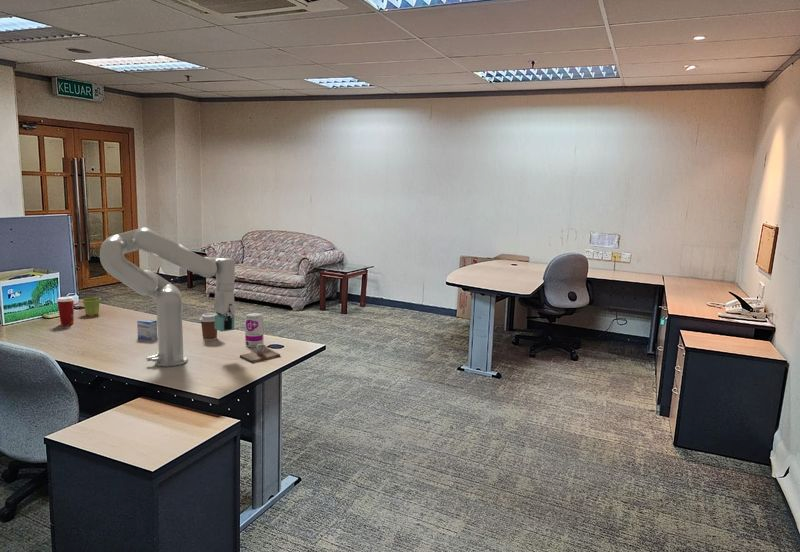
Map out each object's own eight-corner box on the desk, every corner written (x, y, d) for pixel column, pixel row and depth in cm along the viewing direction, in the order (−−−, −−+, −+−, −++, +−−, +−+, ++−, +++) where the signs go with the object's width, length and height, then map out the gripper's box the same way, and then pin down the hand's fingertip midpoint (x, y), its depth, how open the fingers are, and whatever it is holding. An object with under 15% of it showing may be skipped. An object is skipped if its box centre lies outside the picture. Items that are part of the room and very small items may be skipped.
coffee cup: (203, 342, 255) (202, 317, 253) (197, 337, 262) (196, 314, 260) (222, 339, 260) (221, 315, 258) (216, 335, 268) (215, 311, 266)
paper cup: (78, 323, 281) (77, 297, 279) (63, 326, 275) (61, 299, 272) (70, 321, 285) (69, 295, 283) (55, 324, 279) (53, 297, 276)
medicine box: (137, 338, 258) (136, 320, 257) (143, 335, 263) (143, 318, 261) (151, 339, 257) (150, 322, 255) (157, 337, 261) (157, 320, 260)
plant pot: (102, 315, 300) (101, 300, 298) (82, 317, 295) (81, 301, 294) (101, 311, 308) (100, 297, 306) (82, 313, 303) (81, 298, 302)
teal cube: (221, 331, 228) (221, 317, 227) (214, 328, 232) (214, 315, 231) (234, 329, 232) (234, 316, 232) (227, 326, 237) (227, 313, 236)
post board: (251, 362, 228) (251, 350, 227) (240, 357, 235) (239, 345, 234) (280, 356, 238) (280, 344, 237) (268, 351, 245) (268, 339, 244)
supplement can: (258, 348, 248) (258, 317, 246) (242, 347, 250) (241, 315, 247) (266, 343, 256) (266, 313, 254) (250, 342, 258) (250, 311, 255)
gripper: (207, 284, 233) (206, 324, 236) (226, 290, 221) (225, 333, 224) (223, 283, 238) (222, 322, 241) (243, 289, 226) (242, 331, 229)
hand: (224, 327), depth 232 cm, fingers closed on teal cube, 6 cm apart
